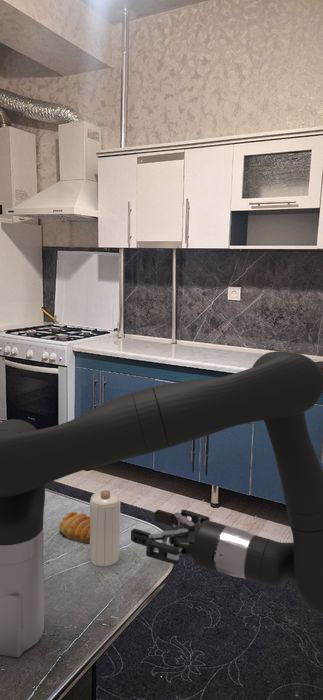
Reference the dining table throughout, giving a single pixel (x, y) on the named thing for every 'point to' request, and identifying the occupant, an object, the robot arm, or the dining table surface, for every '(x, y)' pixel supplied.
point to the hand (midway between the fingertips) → (144, 524)
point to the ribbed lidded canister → (104, 528)
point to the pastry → (76, 527)
